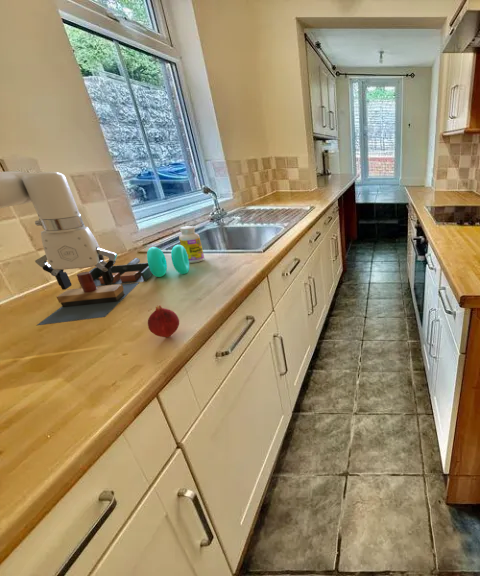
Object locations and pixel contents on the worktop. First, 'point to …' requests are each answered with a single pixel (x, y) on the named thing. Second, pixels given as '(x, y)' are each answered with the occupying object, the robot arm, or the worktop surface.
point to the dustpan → (121, 269)
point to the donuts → (160, 265)
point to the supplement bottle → (191, 244)
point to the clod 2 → (130, 276)
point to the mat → (86, 309)
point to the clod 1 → (115, 275)
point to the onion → (163, 322)
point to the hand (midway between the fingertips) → (88, 285)
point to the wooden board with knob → (90, 293)
